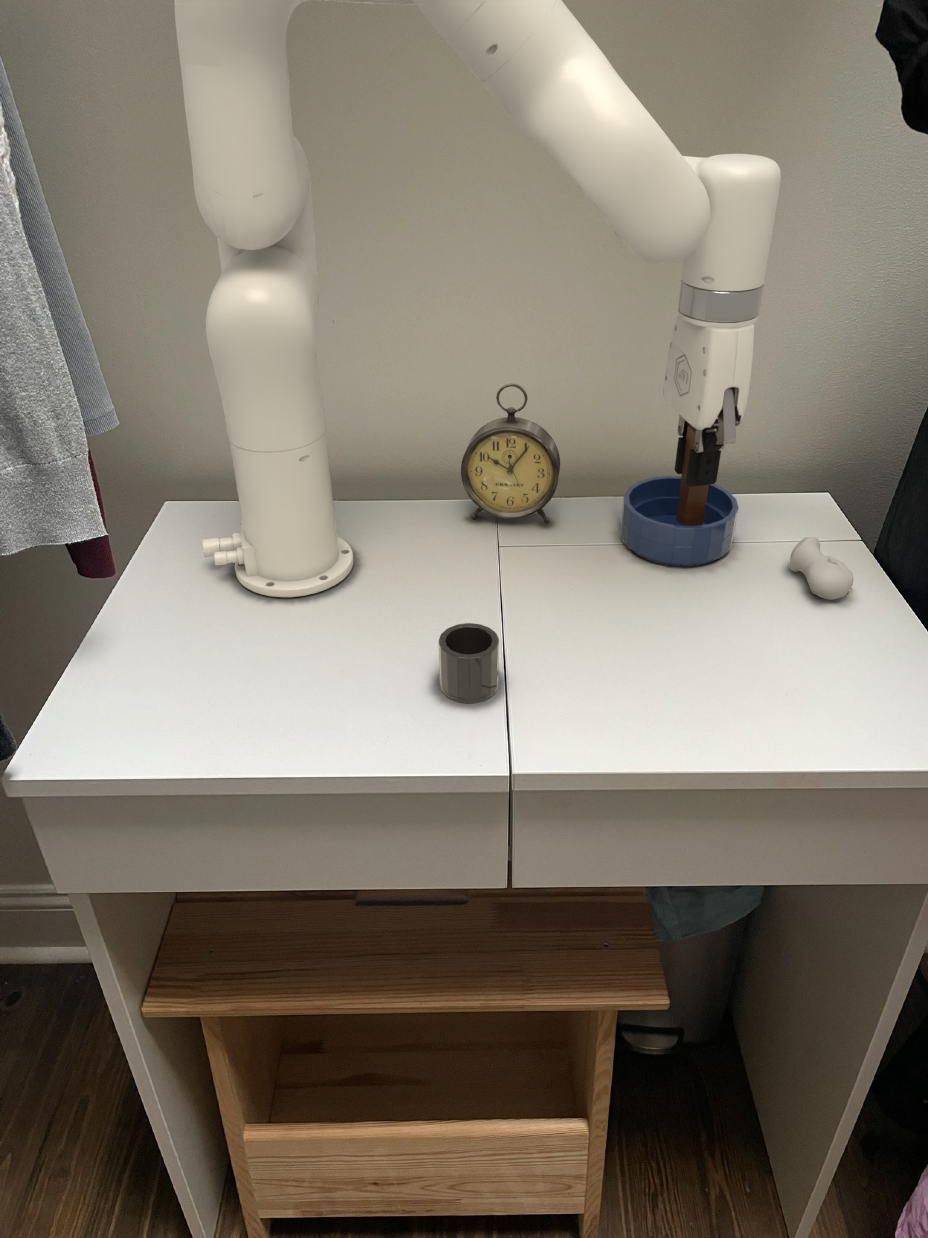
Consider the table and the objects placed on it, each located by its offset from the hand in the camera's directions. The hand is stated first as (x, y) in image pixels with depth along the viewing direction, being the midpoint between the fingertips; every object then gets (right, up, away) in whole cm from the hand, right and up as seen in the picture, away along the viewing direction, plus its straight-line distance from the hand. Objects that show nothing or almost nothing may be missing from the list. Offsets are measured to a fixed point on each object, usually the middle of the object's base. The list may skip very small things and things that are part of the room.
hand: (695, 476), depth 99 cm
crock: (-24, -21, -14) cm, 35 cm away
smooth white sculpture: (+13, -12, -1) cm, 17 cm away
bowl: (-1, -6, +6) cm, 9 cm away
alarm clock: (-19, -3, +11) cm, 22 cm away
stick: (0, -5, +3) cm, 6 cm away
